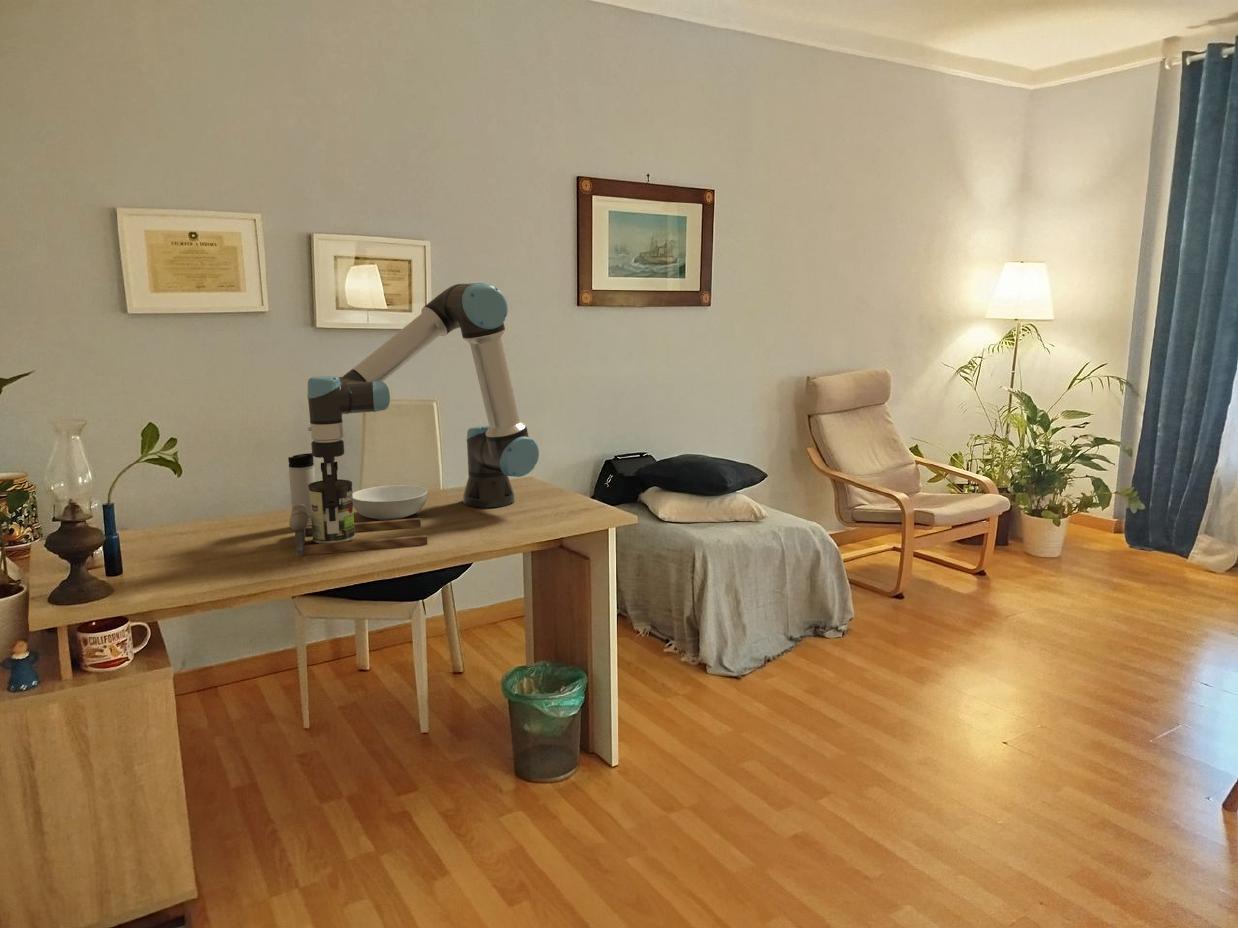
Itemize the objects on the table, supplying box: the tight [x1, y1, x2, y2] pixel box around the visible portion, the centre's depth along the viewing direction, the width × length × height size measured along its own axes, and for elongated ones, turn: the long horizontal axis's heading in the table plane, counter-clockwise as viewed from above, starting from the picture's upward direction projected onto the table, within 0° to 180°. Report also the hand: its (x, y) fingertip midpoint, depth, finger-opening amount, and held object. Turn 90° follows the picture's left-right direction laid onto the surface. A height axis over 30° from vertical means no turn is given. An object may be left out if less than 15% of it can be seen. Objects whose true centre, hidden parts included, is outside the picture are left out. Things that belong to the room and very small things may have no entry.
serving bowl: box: [352, 484, 429, 521], centre depth 238 cm, size 21×21×7 cm
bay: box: [289, 504, 428, 557], centre depth 214 cm, size 32×19×9 cm, turn 108°
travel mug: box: [287, 452, 316, 527], centre depth 225 cm, size 6×7×20 cm
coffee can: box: [308, 478, 356, 544], centre depth 212 cm, size 10×10×14 cm
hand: (333, 527), depth 213 cm, fingers closed on coffee can, 10 cm apart
